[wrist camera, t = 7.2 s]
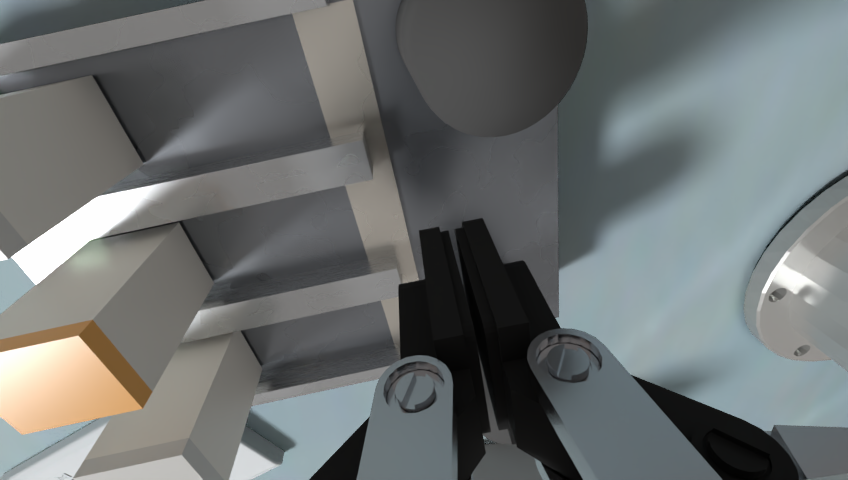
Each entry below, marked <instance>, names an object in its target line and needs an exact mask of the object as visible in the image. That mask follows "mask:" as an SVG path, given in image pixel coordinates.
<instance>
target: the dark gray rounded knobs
mask: <svg viewBox="0 0 848 480" xmlns="http://www.w3.org/2000/svg"><path fill="white" fill-rule="evenodd" d="M395 30H396V41H397V45H398V49H399V52H400V55H401V57H402V59H403V61H404V63H405V65H406V67H407V68H408V70H409V72H410V74H411V76H412V78H413V80H414V82H415V83H416V85H417V87H418V89H419V91H420V93H421V95H422V96H423V98H424V100H425V102H426V103H427V104H428V106H429V107H430V109H431V110H432V111H433V112H434V113H435V114H436V115H437V116H438V117H439V118H440V119H441V120H442V121H444V122H445V123H446V124H448V125H449V126H451V127H453V128H454V129H456V130H458V131H461V132H463V133H466V134H470V135H473V136H479V137H500V136H506V135H510V134H514V133H517V132H519V131H522V130H524V129H527V128H528V127H530V126H532V125H534V124H535V123H537V122H538V121H540V120H541V119H542V118H544V117H545V116H546V115H547V114H549V113H550V112H551V111H552V110H553V109H554V108H555V107H556V106H557V105H558V104H559V102H560V101H561V100H562V99H563V97H564V96H565V95H566V93H567V92H568V90H569V89H570V87H571V85H572V84H573V82H574V80H575V78H576V76H577V73H578V71H579V69H580V66H581V63H582V60H583V57H584V53H585V48H586V43H587V32H588V22H587V11H586V4H585V0H401V2H400V5H399V8H398V12H397V17H396V25H395ZM463 288H464V284H463ZM464 292H465V290H464ZM479 359H480V357H479ZM480 365H481V372H482V378H483V384H484V390H485V397H486V403H487V409H488V415H489V422H490V428H491V432H489V433H484V434H483V436H485V437H486V438H487V439H489V440H491V441H493V442H496V443H500V444H506V445H512V443H511V439H510V436H509V432H508V429H505V430H500V431H499V430H498V426H497V423H496V419H495V415H494V411H493V407H492V403H491V399H490V395H489V392H488V388H487V384H486V380H485V376H484V372H483V368H482V364H481V361H480ZM513 445H516V444H513Z"/></svg>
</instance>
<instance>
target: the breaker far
mask: <svg viewBox="0 0 848 480" xmlns="http://www.w3.org/2000/svg"><path fill="white" fill-rule="evenodd" d="M261 372H262V367H261V366H260V364H259V362H258V360H257V359H256V357H255V355H254V353H253V352H252V350H251V348H250V347H249V345H248V343H247V341H246V340H245V338H244V336H243V335H242V333H241V331H237V332H232V333H227V334H223V335H218V336H213V337H209V338H204V339H199V340H195V341H190V342H185V343H181V344H179V346H178V348H177V350H176V351H175V353H174V355H173V357H172V358H171V360H170V362H169V364H168V365H167V367H166V369H165V371H164V372H163V374H162V376H161V378H160V380H159V381H158V383H157V385H156V387H155V388H154V390H153V392H152V394H151V395H150V397H149V399H148V401H147V402H146V404H145V406H144V408H143V409H140V410H135V411H131V412H126V413H121V414H117V415H112V417H111V419H110V420H109V422H108V423H107V425H106V426H105V428H104V430H103V431H102V433H101V434H100V436H99V438H98V439H97V441H96V442H95V444H94V445H93V447H92V449H91V450H90V452H89V453H88V455H87V456H86V458H85V460H84V461H83V463H82V464H81V466H80V468H79V469H78V471H77V472H76V474H75V475H74V477H73V479H74V480H229V478H230V475H231V471H232V468H233V465H234V461H235V458H236V455H237V452H238V448H239V445H240V442H241V438H242V435H243V432H244V428H245V425H246V422H247V418H248V415H249V412H250V409H251V405H252V402H253V399H254V395H255V392H256V389H257V385H258V382H259V379H260V376H261Z"/></svg>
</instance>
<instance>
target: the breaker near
mask: <svg viewBox="0 0 848 480" xmlns="http://www.w3.org/2000/svg"><path fill="white" fill-rule="evenodd" d="M142 165H143V162H142V160H141V159H140V157H139V155H138V154H137V152H136V150H135V148H134V147H133V145H132V143H131V142H130V140H129V138H128V136H127V135H126V133H125V131H124V129H123V128H122V126H121V124H120V123H119V121H118V119H117V117H116V116H115V114H114V112H113V110H112V109H111V107H110V105H109V104H108V102H107V100H106V98H105V97H104V95H103V93H102V92H101V90H100V88H99V86H98V85H97V83H96V81H95V79H94V78H93V76H92V75H90V76H85V77H81V78H76V79H71V80H66V81H62V82H57V83H52V84H48V85H43V86H38V87H34V88H29V89H24V90H20V91H15V92H10V93H6V94H1V95H0V261H2V260H7V259H9V258H11V257H12V256H14V255H15V254H16V253H18V252H19V251H21V250H22V249H24V248H25V247H26V246H28V245H29V244H31V243H32V242H34V241H35V240H36V239H38V238H39V237H41V236H42V235H44V234H45V233H46V232H48V231H49V230H51V229H52V228H54V227H55V226H56V225H58V224H59V223H61V222H62V221H64V220H65V219H66V218H68V217H69V216H71V215H72V214H74V213H75V212H76V211H78V210H79V209H81V208H82V207H83V206H85V205H86V204H88V203H89V202H91V201H92V200H93V199H95V198H96V197H98V196H99V195H101V194H102V193H103V192H105V191H106V190H108V189H109V188H111V187H112V186H113V185H115V184H116V183H118V182H119V181H121V180H122V179H123V178H125V177H126V176H128V175H129V174H131V173H132V172H133V171H135V170H136V169H138V168H139V167H141V166H142Z"/></svg>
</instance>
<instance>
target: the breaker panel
mask: <svg viewBox="0 0 848 480" xmlns="http://www.w3.org/2000/svg"><path fill="white" fill-rule="evenodd" d="M400 2H401V0H205V1H200V2H195V3H191V4H186V5H181V6H177V7H172V8H167V9H163V10H158V11H153V12H149V13H144V14H139V15H134V16H130V17H125V18H120V19H116V20H111V21H106V22H102V23H97V24H92V25H88V26H83V27H78V28H74V29H69V30H64V31H60V32H55V33H50V34H45V35H41V36H36V37H31V38H27V39H22V40H17V41H13V42H8V43H3V44H0V95H1V94H6V93H10V92H15V91H20V90H24V89H29V88H34V87H38V86H43V85H48V84H52V83H57V82H62V81H66V80H71V79H76V78H81V77H85V76H90V75H92V76H93V78H94V79H95V81H96V83H97V85H98V86H99V88H100V90H101V92H102V93H103V95H104V97H105V98H106V100H107V102H108V104H109V105H110V107H111V109H112V110H113V112H114V114H115V116H116V117H117V119H118V121H119V123H120V124H121V126H122V128H123V129H124V131H125V133H126V135H127V136H128V138H129V140H130V142H131V143H132V145H133V147H134V148H135V150H136V152H137V154H138V155H139V157H140V159H141V160H142V162H143V165H142V166H141V167H139V168H138V169H136V170H135V171H133V172H132V173H131V174H129V175H128V176H126V177H125V178H123V179H122V180H121V181H119V182H118V183H116V184H115V185H113V186H112V187H111V188H109V189H108V190H106V191H105V192H103V193H102V194H101V195H99V196H98V197H96V198H95V199H93V200H92V201H91V202H89V203H88V204H86V205H85V206H83V207H82V208H81V209H79V210H78V211H76V212H75V213H74V214H72V215H71V216H69V217H68V218H66V219H65V220H64V221H62V222H61V223H59V224H58V225H56V226H55V227H54V228H52V229H51V230H49V231H48V232H46V233H45V234H44V235H42V236H41V237H39V238H38V239H36V240H35V241H34V242H32V243H31V244H29V245H28V246H26V247H25V248H24V249H22V250H21V251H19V252H18V253H16V254H15V255H14V256H12V258H13V259H14V260H15V261H16V262H17V263H18V264H19V266H20V267H21V268H22V269H23V270H24V271H25V272H26V274H27V275H28V276H29V277H30V278H31V279H32V280H33V282H34V283H35V284H38V283H39V282H40V281H41V280H42V279H44V278H45V277H46V276H47V275H48V274H50V273H51V272H52V271H53V270H54V269H56V268H57V267H58V266H59V265H60V264H62V263H63V262H64V261H65V260H66V259H68V258H69V257H70V256H71V255H72V254H74V253H75V252H76V251H77V250H78V249H80V248H81V247H82V246H83V245H84V244H86V243H87V242H90V241H94V240H99V239H104V238H108V237H113V236H118V235H122V234H127V233H132V232H136V231H141V230H146V229H150V228H155V227H160V226H164V225H169V224H174V223H178V222H179V223H180V225H181V227H182V229H183V230H184V232H185V234H186V235H187V237H188V239H189V241H190V242H191V244H192V246H193V248H194V249H195V251H196V253H197V254H198V256H199V258H200V260H201V261H202V263H203V265H204V267H205V268H206V270H207V272H208V274H209V275H210V277H211V279H212V280H213V282H214V284H213V286H212V288H211V290H210V292H209V293H208V295H207V297H206V299H205V300H204V302H203V304H202V306H201V307H200V309H199V311H198V313H197V314H196V316H195V318H194V320H193V321H192V323H191V325H190V327H189V328H188V330H187V332H186V334H185V336H184V337H183V339H182V341H181V343H185V342H190V341H195V340H199V339H204V338H209V337H213V336H218V335H223V334H227V333H232V332H237V331H241V333H242V335H243V336H244V338H245V340H246V341H247V343H248V345H249V347H250V348H251V350H252V352H253V353H254V355H255V357H256V359H257V360H258V362H259V364H260V366H261V367H262V372H261V376H260V379H259V382H258V385H257V389H256V392H255V395H254V399H253V402H252V405H251V406H255V405H259V404H264V403H269V402H273V401H278V400H283V399H287V398H292V397H297V396H301V395H306V394H311V393H315V392H320V391H324V390H329V389H334V388H338V387H343V386H348V385H352V384H357V383H362V382H366V381H371V380H376V379H379V378H380V377H381V375H382V374H383V373H384V372H385V370H386V369H387V368H389V367H390V366H391V365H392V364H394V363H395V362H397V361H399V360H400V330H399V297H398V285H399V284H403V283H408V282H413V281H418V280H423V279H425V275H424V267H423V259H422V252H421V244H420V236H419V230H424V229H429V228H434V227H439V228H440V232H442V231H447V230H448V231H449V235H450V239H451V242H452V246H453V250H454V254H455V258H456V261H457V265H458V269H459V273H460V277H461V280H462V284H463V278H462V272H461V266H460V259H459V253H458V247H457V241H456V235H455V229H457V228H462V222H464V221H469V220H474V219H479V218H483V220H484V222H485V224H486V227H487V229H488V231H489V233H490V236H491V238H492V240H493V242H494V245H495V247H496V249H497V251H498V254H499V256H500V258H501V260H502V263H503V264H506V263H511V262H516V261H521V260H523V261H525V263H526V264H527V266H528V268H529V270H530V272H531V274H532V276H533V277H534V279H535V281H536V283H537V285H538V287H539V289H540V291H541V292H542V294H543V296H544V298H545V300H546V302H547V304H548V306H549V307H550V309H551V311H552V313H553V315H554V317H555V318H556V317H559V261H558V105H557V106H556V107H555V108H554V109H553V110H552V111H551V112H550V113H549V114H547V115H546V116H545V117H544V118H542V119H541V120H540V121H538V122H537V123H535V124H534V125H532V126H530V127H528V128H527V129H524V130H522V131H519V132H517V133H514V134H510V135H506V136H500V137H479V136H473V135H470V134H466V133H463V132H461V131H458V130H456V129H454V128H453V127H451V126H449V125H448V124H446V123H445V122H444V121H442V120H441V119H440V118H439V117H438V116H437V115H436V114H435V113H434V112H433V111H432V110H431V109H430V107H429V106H428V104H427V103H426V102H425V100H424V98H423V96H422V95H421V93H420V91H419V89H418V87H417V85H416V83H415V82H414V80H413V78H412V76H411V74H410V72H409V70H408V68H407V67H406V65H405V63H404V61H403V59H402V57H401V55H400V52H399V49H398V45H397V41H396V30H395V25H396V17H397V12H398V8H399V5H400ZM181 343H180V344H181Z"/></svg>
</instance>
